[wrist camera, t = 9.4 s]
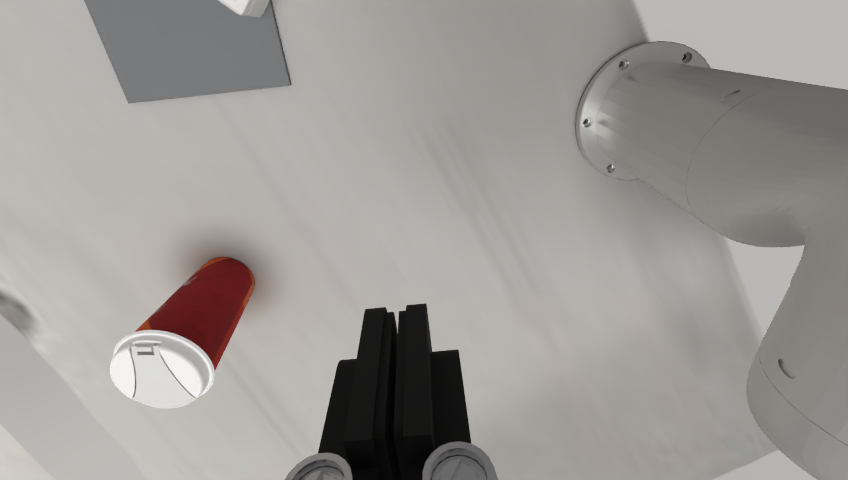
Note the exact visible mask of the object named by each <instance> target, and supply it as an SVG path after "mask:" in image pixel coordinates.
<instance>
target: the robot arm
mask: <svg viewBox="0 0 848 480" xmlns="http://www.w3.org/2000/svg"><path fill="white" fill-rule="evenodd" d="M683 55H684V57H683ZM682 57H683V59H682ZM620 62H622V65H621V66H620V67H619V63H620ZM585 119H586V122H585V123H583V121H584V120H585ZM576 137H577V141H578V144H579V148H580V150H581V152H582V153H583V155H584V157H585V158H586V159H587V161H588V162H589V163H590V164H591V165H592V166H593V167H595V168H596V169H597V170H598V171H600V172H601V173H603V174H605V175H607V176H609V177H613V178H616V179H622V180H637V179H641V180H642V181H644V182H645V183H646V184H648V185H649V186H651V187H652V188H654V189H655V190H656V191H658V192H659V193H661V194H662V195H664V196H665V197H667V198H668V199H669V200H671V201H672V202H674V203H675V204H677V205H678V206H679V207H681V208H682V209H684V210H685V211H687V212H688V213H690V214H691V215H692V216H694V217H695V218H697V219H698V220H700V221H701V222H702V223H704V224H706V225H707V226H709V227H710V228H712V229H713V230H715V231H716V232H718V233H719V234H721V235H723V236H725V237H727V238H729V239H731V240H734V241H736V242H740V243H743V244H748V245H753V246H759V247H790V246H799V245H805V247H804V251H803V255H802V258H801V260H800V262H799V265H798V267H797V269H796V271H795V273H794V275H793V277H792V279H791V283H790V287H789V288H788V290H787V292H786V294H785V297H784V298H783V300H782V302H781V304H780V306H779V308H778V310H777V312H776V314H775V316H774V318H773V320H772V322H771V324H770V326H769V328H768V330H767V332H766V334H765V336H764V338H763V340H762V342H761V345H760V347H759V349H758V351H757V353H756V356H755V358H754V360H753V363H752V365H751V368H750V370H749V374H748V379H747V386H746V394H747V400H748V404H749V408H750V410H751V413H752V415H753V417H754V419H755V421H756V422H757V424H758V426H759V427H760V428H761V430H762V431H763V432H764V434H765V435H766V436H767V437H768V438H769V440H770V441H771V442H772V443H773V444H774V445H775V446H776V447H777V448H778V449H779V450H780V451H781V452H782V453H784V454H785V455H786V456H787V457H788V458H789V459H790V460H792V461H793V462H794V463H795V464H797V465H798V466H799V467H800V468H802V469H803V470H804V471H806V472H807V473H809V474H810V475H812V476H813V477H814V478H816V479H817V480H848V90H845V89H838V88H831V87H825V86H819V85H812V84H806V83H799V82H793V81H786V80H780V79H774V78H768V77H761V76H755V75H749V74H742V73H735V72H730V71H723V70H717V69H711V68H710V66H709V65H708V63H707V62H706V60H705V59H704V58H703V57H702V56H701V55H700V54H699V53H698V52H697V51H695V50H693V49H692V48H690V47H688V46H686V45H683V44H679V43H674V42H665V41H657V42H648V43H643V44H640V45H637V46H634V47H631V48H629V49H627V50H626V51H624V52H622V53H620V54H618V55H617V56H615V57H614V58H613V59H611V60H610V61H609V62H607V63H606V64H605V65H604V66H603V67H602V68H601V69H600V70H599V71H598V73H597V74H596V75H595V76H594V78H593V79H592V80H591V82H590V83H589V85H588V86H587V88H586V90H585V92H584V94H583V96H582V98H581V101H580V104H579V107H578V111H577V117H576ZM608 166H609V167H608ZM607 167H608V168H607ZM285 480H498V478H497V475H496V472H495V469H494V466H493V464H492V462H491V460H490V459H489V457H488V456H487V455H486V454H485V453H484V452H483V451H482V450H481V449H480V448H478V447H477V446H475V445H473V444H471V438H470V431H469V424H468V416H467V409H466V402H465V394H464V387H463V380H462V372H461V365H460V358H459V351H458V350H448V351H437V352H432V347H431V339H430V330H429V322H428V314H427V306H426V304H416V305H407V306H406V311H399V324H398V333H397V327H396V321H395V315H394V312H387V310H386V308H385V307H384V308H374V309H366V310H365V313H364V319H363V325H362V331H361V337H360V343H359V349H358V355H357V359H349V360H340V361H339V363H338V366H337V370H336V375H335V379H334V384H333V388H332V393H331V397H330V402H329V406H328V411H327V415H326V420H325V424H324V429H323V433H322V438H321V442H320V447H319V451H318V454H315V455H313V456H310V457H307V458H306V459H304V460H303V461H301V462H300V463H298V464H297V465H296V466H295V467H294V468H293V469H292V470H291V471H290V472H289V474H288V475H287V477H286V479H285Z"/></svg>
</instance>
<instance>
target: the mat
mask: <svg viewBox="0 0 848 480" xmlns="http://www.w3.org/2000/svg"><path fill="white" fill-rule="evenodd" d="M84 1H85V3H86V5H87V8H88V10H89V12H90V15H91V17H92V19H93V22H94V24H95V26H96V29H97V31H98V33H99V36H100V38H101V40H102V43H103V45H104V47H105V50H106V52H107V54H108V57H109V59H110V61H111V64H112V66H113V68H114V71H115V73H116V75H117V78H118V80H119V82H120V85H121V87H122V89H123V92H124V94H125V96H126V99H127V101H128V103H136V102H145V101H154V100H164V99H173V98H182V97H191V96H200V95H209V94H218V93H227V92H236V91H245V90H254V89H263V88H272V87H281V86H290V85H291V82H290V78H289V73H288V69H287V65H286V61H285V57H284V53H283V48H282V44H281V40H280V36H279V32H278V28H277V23H276V19H275V15H274V11H273V7H272V3H271V0H270V1H269V3H268V5H267V7H266V9H265V11H264V13H263V15H262V16H261V17H253V16H244V15H239V14H237V13H235V12H234V11H232V10H231V9H229V8H228V7H226V6H225V5H224V4H222V3H221V2H220V1H218V0H84Z"/></svg>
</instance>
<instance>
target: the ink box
mask: <svg viewBox="0 0 848 480" xmlns="http://www.w3.org/2000/svg"><path fill="white" fill-rule="evenodd" d="M218 1H220V2H221V3H222V4H224V5H225V6H226V7H228V8H229V9H231V10H232V11H234V12H235V13H237V14H239V15H244V16H253V17H261V16H262V15H263V13H264V11H265V9H266V7H267V5H268V3H269V1H270V0H218Z"/></svg>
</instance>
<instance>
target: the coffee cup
mask: <svg viewBox="0 0 848 480" xmlns="http://www.w3.org/2000/svg"><path fill="white" fill-rule="evenodd" d="M253 289H254V277H253V275H252V273H251V271H250V270H249V269H248V268H247V267H246V266H245V265H244V264H243V263H241V262H239V261H237V260H235V259H232V258H227V257H219V258H214V259H212V260H210V261H208V262H207V263H206V264H205V265H203V266H202V267H201V268H200V269H199V270H198V271H197V272H196V273H195V274H194V275H193V276H192V277H191V278H189V279H188V280H187V281H186V282H185V283H184V284H183V285H182V286H181V287H180V288H179V289H178V290H177V291H176V292H175V293H174V294H173V295H172V296H171V297H170V298H169V299H168V300H167V301H166V302H165V303H164V304H163V305H162V306H161V307H160V308H159V309H158V310H157V311H156V312H155V313H154V314H153V315H152V316H151V317H150V318H148V319H147V320H146V321H145V322H144V323H143V324H142V325H141V326H140V327H139V328H138V329H137V330H136V331H135V332H134V333H131V334H128V335H127V336H125V337H123V338H122V339H121V340H120V341H119V342H118V344H117V345H116V347H115V349H114V353H113V358H112V361H111V364H110V375H111V378H112V380H113V382H114V384H115V385H116V386H117V387H118V389H119V390H120V391H121V392H122V393H124V394H125V395H126V396H128V397H129V398H131V399H133V400H135V401H137V402H140V403H142V404H145V405H148V406H151V407H156V408H178V407H182V406H185V405H187V404H189V403H191V402H192V401H193V400H195V399H196V398H198V397H199V396H201V395H203V394H204V393H205V392H207V391H208V390H209V389H210V387H211V386H212V384H213V382H214V378H215V369H216V367H217V365H218V363H219V361H220V359H221V357H222V355H223V353H224V351H225V349H226V346H227V344H228V342H229V340H230V338H231V336H232V334H233V332H234V330H235V328H236V326H237V324H238V322H239V320H240V317H241V315H242V313H243V311H244V309H245V307H246V305H247V303H248V301H249V298H250V296H251V294H252V291H253Z"/></svg>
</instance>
